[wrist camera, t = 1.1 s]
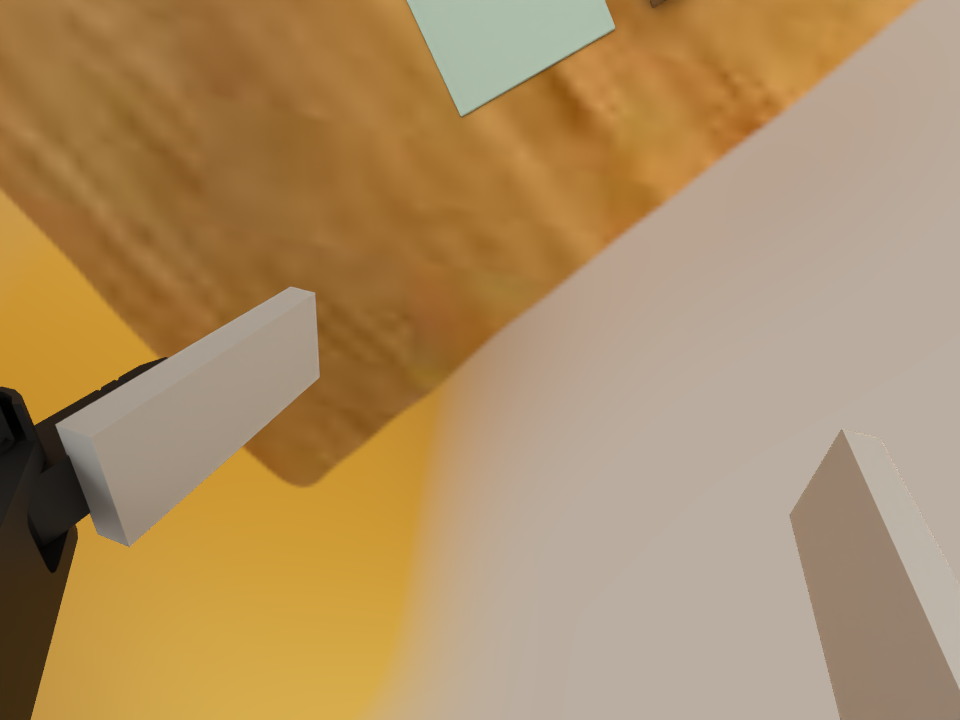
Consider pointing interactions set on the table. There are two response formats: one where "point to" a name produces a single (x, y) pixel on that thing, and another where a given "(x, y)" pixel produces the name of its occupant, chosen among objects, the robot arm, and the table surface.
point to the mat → (504, 41)
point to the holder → (656, 2)
